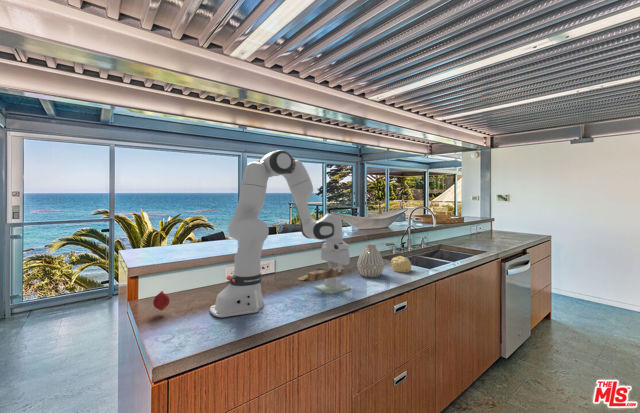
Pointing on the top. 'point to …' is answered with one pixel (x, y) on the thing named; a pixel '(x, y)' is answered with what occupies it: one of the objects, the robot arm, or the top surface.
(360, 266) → the vase
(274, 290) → the top surface
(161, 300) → the onion
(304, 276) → the tool
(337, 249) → the robot arm
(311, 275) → the walnut bar
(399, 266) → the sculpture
